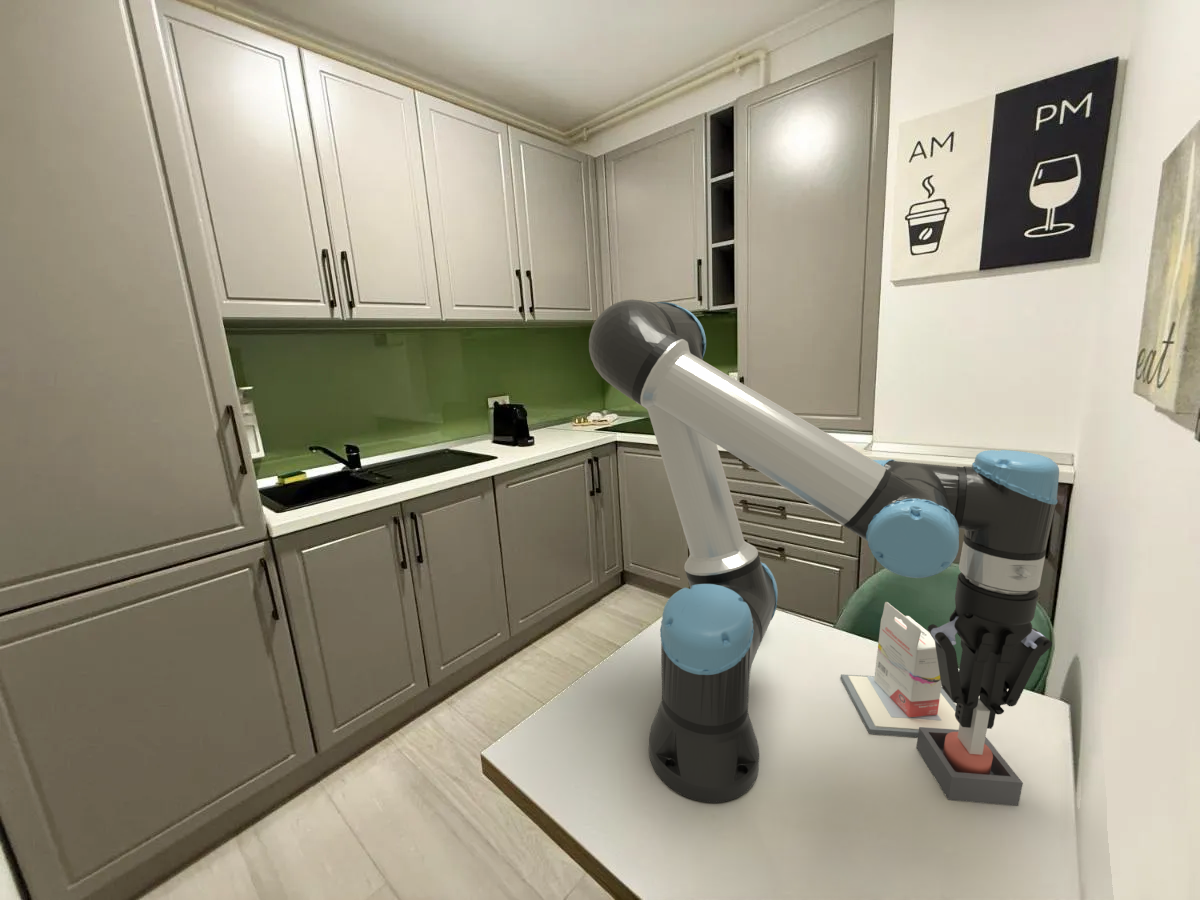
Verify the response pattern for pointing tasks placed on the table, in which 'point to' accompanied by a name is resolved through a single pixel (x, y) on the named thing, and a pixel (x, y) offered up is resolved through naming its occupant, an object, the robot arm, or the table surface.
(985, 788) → the button housing
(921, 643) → the ink cartridge box
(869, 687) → the board
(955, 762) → the button
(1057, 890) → the table surface
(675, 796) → the table surface
